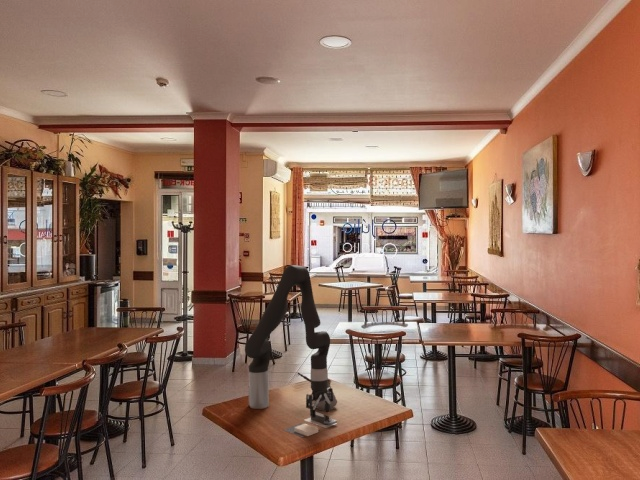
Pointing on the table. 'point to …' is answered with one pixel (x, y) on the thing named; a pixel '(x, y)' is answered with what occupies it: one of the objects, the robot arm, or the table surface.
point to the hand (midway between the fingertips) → (320, 414)
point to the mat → (292, 430)
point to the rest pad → (319, 423)
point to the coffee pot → (322, 404)
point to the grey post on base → (323, 419)
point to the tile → (306, 429)
